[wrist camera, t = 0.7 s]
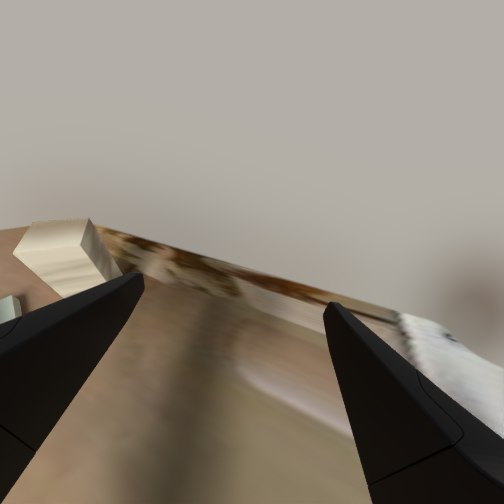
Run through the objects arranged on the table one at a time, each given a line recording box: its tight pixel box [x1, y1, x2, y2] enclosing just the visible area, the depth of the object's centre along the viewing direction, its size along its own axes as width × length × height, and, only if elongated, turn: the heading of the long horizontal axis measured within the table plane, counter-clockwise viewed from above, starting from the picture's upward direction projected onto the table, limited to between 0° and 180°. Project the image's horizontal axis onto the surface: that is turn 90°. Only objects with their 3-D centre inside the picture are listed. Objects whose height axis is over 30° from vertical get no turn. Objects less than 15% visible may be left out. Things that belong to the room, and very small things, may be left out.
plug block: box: [13, 218, 123, 298], centre depth 20 cm, size 4×4×12 cm
